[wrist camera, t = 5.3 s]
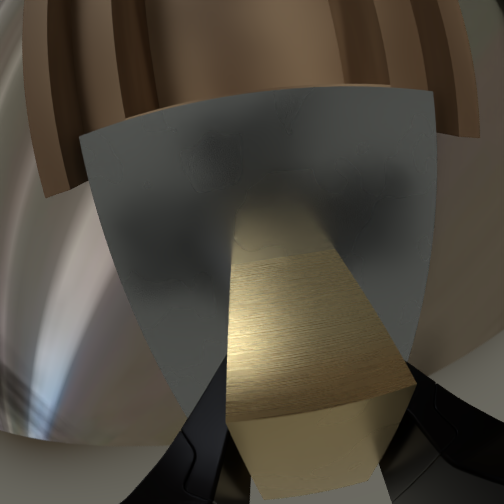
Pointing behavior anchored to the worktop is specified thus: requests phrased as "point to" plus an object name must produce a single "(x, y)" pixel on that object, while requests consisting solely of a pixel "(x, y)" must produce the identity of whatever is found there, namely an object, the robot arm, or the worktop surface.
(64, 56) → the walnut box
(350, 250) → the cover plate
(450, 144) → the worktop surface
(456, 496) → the robot arm
